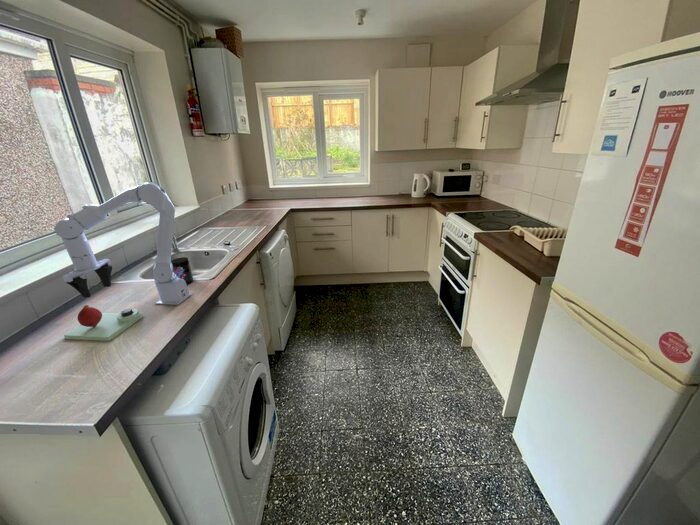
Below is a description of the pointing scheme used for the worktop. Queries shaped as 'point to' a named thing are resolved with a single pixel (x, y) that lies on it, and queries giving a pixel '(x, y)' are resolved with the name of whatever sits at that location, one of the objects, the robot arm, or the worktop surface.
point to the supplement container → (182, 269)
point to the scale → (105, 327)
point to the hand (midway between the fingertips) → (97, 291)
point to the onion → (89, 316)
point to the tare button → (126, 312)
